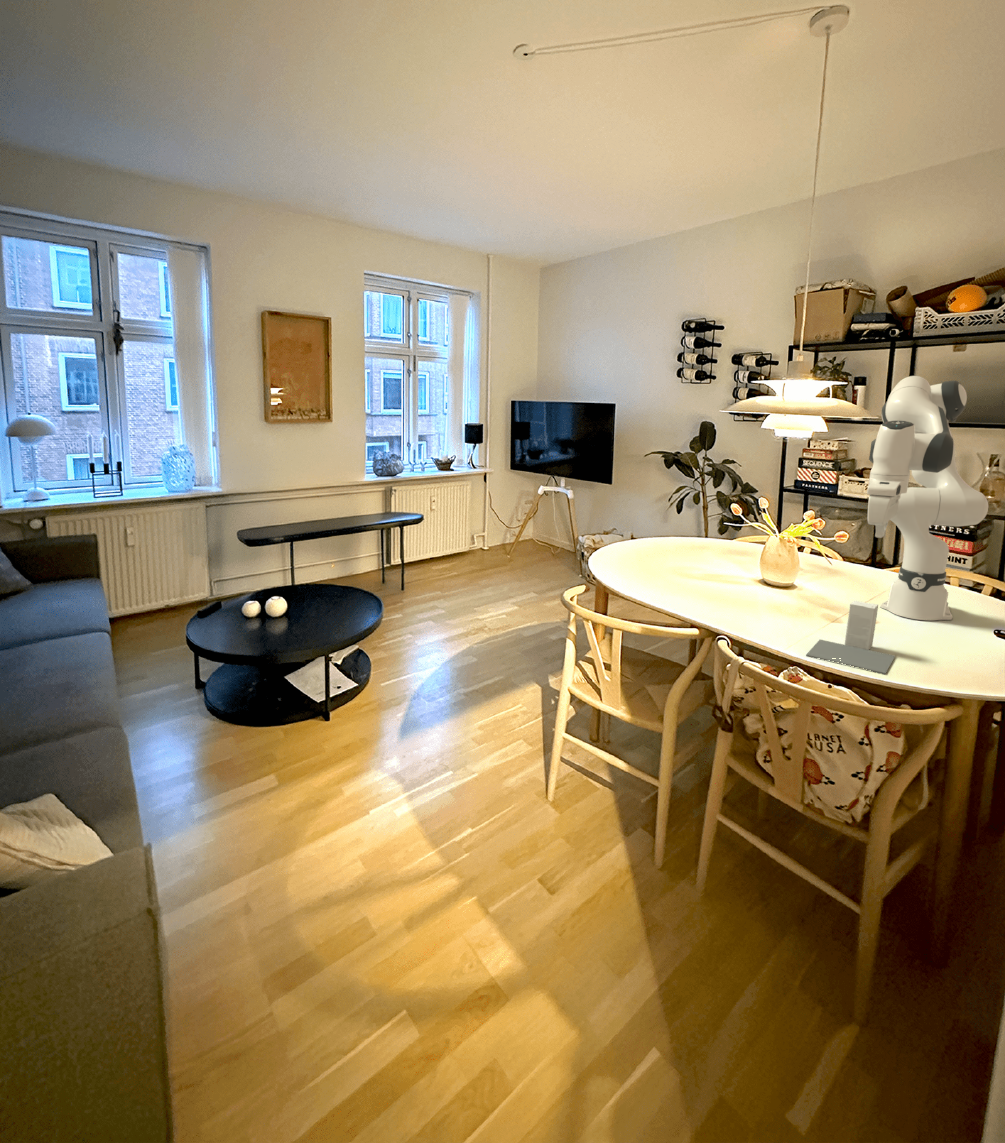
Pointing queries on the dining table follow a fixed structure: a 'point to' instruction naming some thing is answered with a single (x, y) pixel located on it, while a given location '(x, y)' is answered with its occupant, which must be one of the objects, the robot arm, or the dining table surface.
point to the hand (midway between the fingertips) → (879, 536)
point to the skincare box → (861, 624)
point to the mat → (852, 656)
